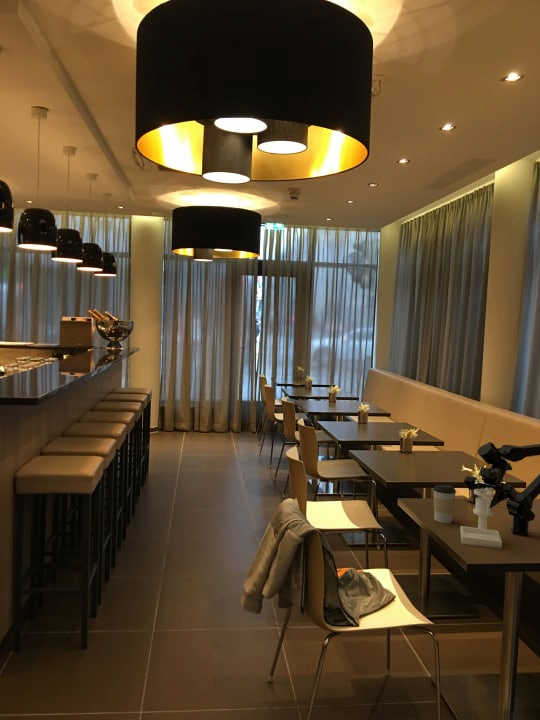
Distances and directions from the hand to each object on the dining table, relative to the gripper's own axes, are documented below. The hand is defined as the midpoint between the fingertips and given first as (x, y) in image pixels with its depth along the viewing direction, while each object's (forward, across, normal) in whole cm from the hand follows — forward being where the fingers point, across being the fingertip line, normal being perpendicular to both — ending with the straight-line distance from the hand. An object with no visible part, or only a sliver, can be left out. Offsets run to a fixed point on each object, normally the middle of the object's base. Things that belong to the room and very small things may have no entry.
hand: (481, 505), depth 215 cm
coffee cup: (+1, -22, +18) cm, 28 cm away
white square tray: (+8, 0, +10) cm, 13 cm away
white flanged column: (+5, 0, +7) cm, 9 cm away
